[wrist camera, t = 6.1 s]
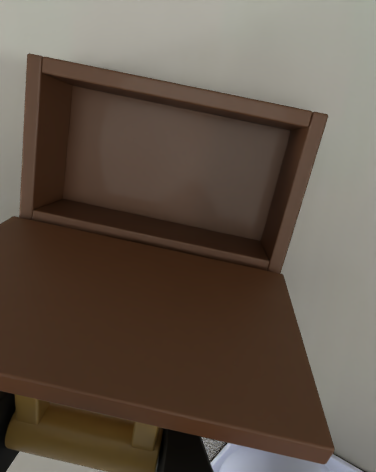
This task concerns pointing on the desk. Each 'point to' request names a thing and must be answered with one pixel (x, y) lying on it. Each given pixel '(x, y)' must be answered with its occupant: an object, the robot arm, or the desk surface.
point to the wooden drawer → (164, 162)
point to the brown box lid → (147, 351)
